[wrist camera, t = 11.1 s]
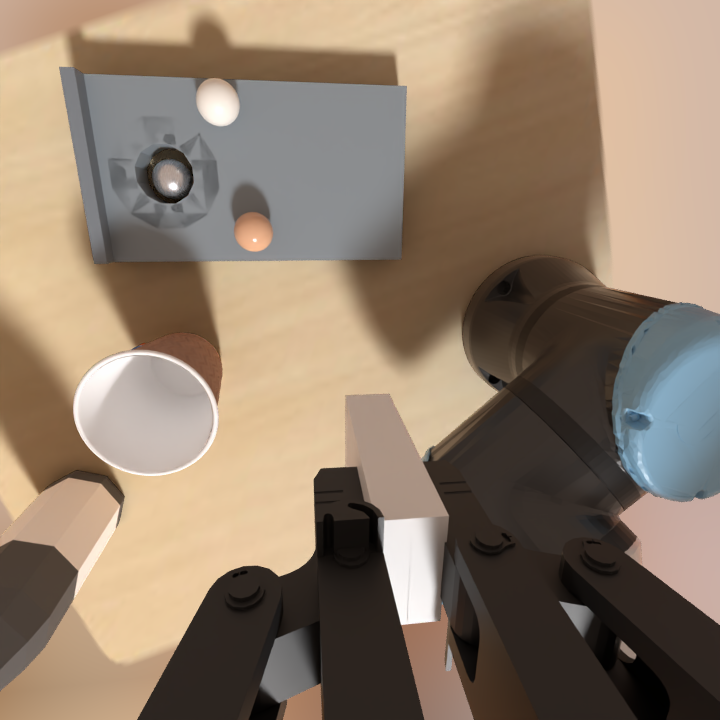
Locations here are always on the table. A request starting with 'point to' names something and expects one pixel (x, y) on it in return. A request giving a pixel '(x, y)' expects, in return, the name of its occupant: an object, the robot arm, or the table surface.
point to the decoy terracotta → (253, 231)
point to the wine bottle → (50, 562)
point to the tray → (240, 168)
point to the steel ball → (172, 179)
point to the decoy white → (217, 102)
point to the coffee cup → (151, 405)
